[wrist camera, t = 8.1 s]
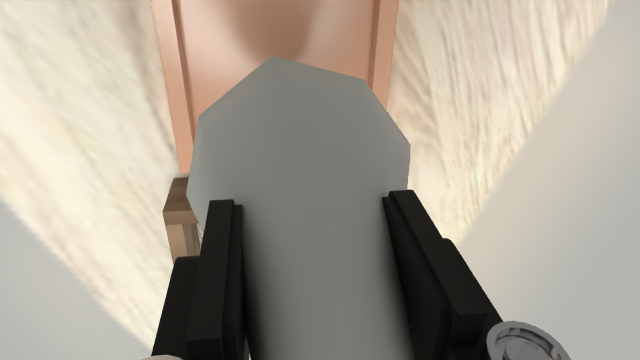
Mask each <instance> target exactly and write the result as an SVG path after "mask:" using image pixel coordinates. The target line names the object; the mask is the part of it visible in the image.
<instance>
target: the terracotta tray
mask: <svg viewBox="0 0 640 360" xmlns="http://www.w3.org/2000/svg"><path fill="white" fill-rule="evenodd" d="M151 4H152V10H153V16H154V21H155V27H156V33H157V39H158V45H159V50H160V56H161V62H162V68H163V73H164V79H165V85H166V91H167V96H168V102H169V108H170V114H171V119H172V125H173V131H174V137H175V142H176V148H177V154H178V160H179V165H180V171H181V174H184V173H189V172H190V166H191V159H192V153H193V147H194V140H195V134H196V127H197V121H198V116H199V115H200V114H201V113H203V112H204V111H205V110H206V109H207V108H209V107H210V106H211V105H212V104H214V103H215V102H216V101H217V100H218V99H220V98H221V97H222V96H223V95H224V94H226V93H227V92H228V91H229V90H230V89H232V88H233V87H234V86H235V85H237V84H238V83H239V82H240V81H241V80H243V79H244V78H245V77H246V76H247V75H249V74H250V73H251V72H252V71H253V70H255V69H256V68H257V67H258V66H260V65H261V64H262V63H263V62H264V61H266V60H267V59H268V58H269V57H270V56H275V57H279V58H283V59H286V60H290V61H294V62H298V63H302V64H306V65H310V66H314V67H317V68H321V69H325V70H329V71H333V72H337V73H341V74H345V75H348V76H352V77H356V78H360V79H364V80H365V81H366V83H367V84H368V86H369V87H370V88H371V90H372V91H373V93H374V94H375V95H376V97H377V98H378V100H379V101H380V102H381V104H382V105H383V107H384V108H385V109H386V107H387V98H388V89H389V80H390V71H391V62H392V53H393V44H394V35H395V26H396V17H397V8H398V0H151Z"/></svg>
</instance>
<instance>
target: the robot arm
mask: <svg viewBox="0 0 640 360" xmlns="http://www.w3.org/2000/svg"><path fill="white" fill-rule="evenodd" d="M382 201H383V205H384V210H385V215H386V219H387V224H388V228H389V233H390V237H391V242H392V247H393V251H394V256H395V260H396V265H397V269H398V274H399V279H400V283H401V287H402V290H403V294H404V298H405V305H406V311H407V317H408V323H409V329H410V335H411V341H412V347H413V354H414V360H571V359H570V357H569V355H568V354H567V352H566V351H565V350H564V348H563V347H562V346H561V344H560V343H559V342H558V341H556V340H555V339H554V338H553V337H552V336H551V335H549V334H548V333H546V332H544V331H543V330H541V329H539V328H537V327H535V326H532V325H530V324H527V323H524V322H516V321H508V322H503V320H502V319H501V317H500V316H499V314H498V313H497V311H496V309H495V308H494V306H493V305H492V303H491V302H490V300H489V299H488V297H487V295H486V294H485V292H484V291H483V289H482V287H481V286H480V284H479V283H478V281H477V280H476V278H475V277H474V275H473V273H472V272H471V270H470V269H469V267H468V266H467V264H466V262H465V261H464V259H463V258H462V256H461V254H460V253H459V251H458V250H457V248H456V247H455V245H454V244H453V242H452V241H451V240H449V239H447V238H444V239H443V238H442V236H441V235H440V233H439V231H438V230H437V228H436V226H435V225H434V223H433V221H432V220H431V218H430V217H429V215H428V213H427V212H426V210H425V208H424V207H423V205H422V203H421V202H420V200H419V199H418V197H417V195H416V194H415V192H414V191H413V190H394V191H390V192H389V194H388V197H382ZM143 360H249V347H248V342H247V337H246V332H245V298H244V271H243V244H242V204H241V205H234V200H233V199H224V200H210V201H209V206H208V212H207V217H206V223H205V229H204V235H203V240H202V246H201V252H200V255H198V256H183V257H177V258H176V260H175V263H174V266H173V270H172V274H171V278H170V282H169V286H168V290H167V294H166V298H165V303H164V307H163V311H162V315H161V319H160V323H159V327H158V331H157V335H156V339H155V343H154V347H153V351H152V355H151V357H149V358H146V359H143Z"/></svg>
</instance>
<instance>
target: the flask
mask: <svg viewBox="0 0 640 360" xmlns="http://www.w3.org/2000/svg"><path fill="white" fill-rule="evenodd" d="M409 164H410V143H409V142H408V140H407V139H406V138H405V136H404V135H403V133H402V132H401V131H400V129H399V128H398V126H397V125H396V124H395V122H394V121H393V119H392V118H391V117H390V115H389V114H388V112H387V111H386V109H385V108H384V107H383V105H382V104H381V102H380V101H379V100H378V98H377V97H376V95H375V94H374V93H373V91H372V90H371V88H370V87H369V86H368V84H367V83H366V81H365V80H364V79H360V78H356V77H352V76H348V75H345V74H341V73H337V72H333V71H329V70H325V69H321V68H317V67H314V66H310V65H306V64H302V63H298V62H294V61H290V60H286V59H283V58H279V57H275V56H270V57H269V58H268V59H267V60H266V61H264V62H263V63H262V64H261V65H260V66H258V67H257V68H256V69H255V70H253V71H252V72H251V73H250V74H249V75H247V76H246V77H245V78H244V79H243V80H241V81H240V82H239V83H238V84H237V85H235V86H234V87H233V88H232V89H230V90H229V91H228V92H227V93H226V94H224V95H223V96H222V97H221V98H220V99H218V100H217V101H216V102H215V103H214V104H212V105H211V106H210V107H209V108H207V109H206V110H205V111H204V112H203V113H201V114H200V115H199V116H198V121H197V127H196V134H195V140H194V147H193V153H192V159H191V166H190V172H189V179H188V185H187V192H186V196H187V198H188V201H189V203H190V205H191V208H192V210H193V212H194V214H195V216H196V218H197V220H198V222H199V224H200V226H201V228H202V230H203V232H204V229H205V223H206V217H207V212H208V206H209V201H210V200H224V199H233V200H234V205H241V204H242V244H243V271H244V298H245V332H246V337H247V342H248V347H249V352H250V357H251V360H414V354H413V347H412V341H411V335H410V329H409V323H408V317H407V311H406V305H405V298H404V294H403V290H402V287H401V283H400V279H399V274H398V269H397V265H396V260H395V256H394V251H393V247H392V242H391V237H390V233H389V228H388V224H387V219H386V215H385V210H384V205H383V201H382V197H388V194H389V192H390V191H394V190H407V184H408V174H409Z"/></svg>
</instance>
